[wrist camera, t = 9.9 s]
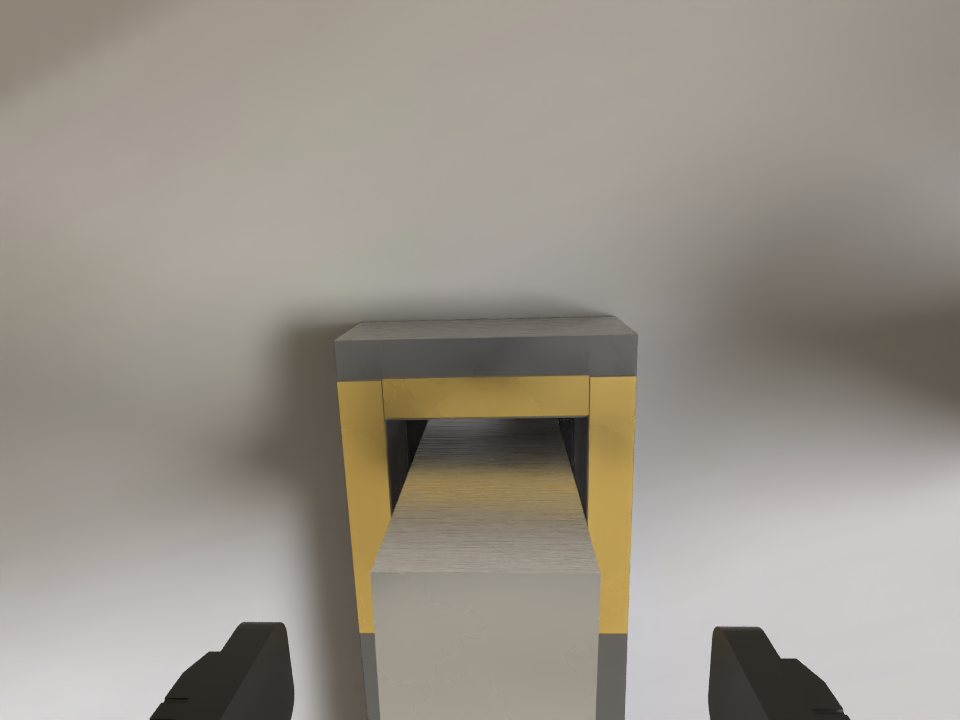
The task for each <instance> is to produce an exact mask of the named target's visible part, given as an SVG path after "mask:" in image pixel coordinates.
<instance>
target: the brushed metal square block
mask: <svg viewBox="0 0 960 720" xmlns="http://www.w3.org/2000/svg"><path fill="white" fill-rule="evenodd" d="M370 573H371V587H372V602H373V617H374V632H375V647H376V662H377V677H378V692H379V707H380V720H595V719H596V692H597V665H598V638H599V612H600V585H601V573H600V570H599V566H598V562H597V559H596V555H595V552H594V548H593V544H592V541H591V537H590V534H589V530H588V527H587V523H586V519H585V516H584V512H583V509H582V505H581V501H580V498H579V494H578V491H577V487H576V483H575V480H574V476H573V473H572V469H571V466H570V462H569V458H568V455H567V451H566V448H565V444H564V440H563V437H562V433H561V430H560V426H559V423H558V419H557V418H512V419H445V420H428V423H427V425H426V428H425V431H424V433H423V436H422V438H421V441H420V444H419V446H418V449H417V452H416V454H415V457H414V459H413V462H412V465H411V467H410V470H409V473H408V475H407V478H406V480H405V483H404V486H403V488H402V491H401V494H400V496H399V499H398V501H397V504H396V507H395V509H394V512H393V515H392V517H391V520H390V522H389V525H388V528H387V530H386V533H385V535H384V538H383V541H382V543H381V546H380V549H379V551H378V554H377V556H376V559H375V562H374V564H373V567H372V570H371V572H370Z"/></svg>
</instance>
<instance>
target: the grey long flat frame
mask: <svg viewBox="0 0 960 720" xmlns="http://www.w3.org/2000/svg"><path fill="white" fill-rule="evenodd" d="M637 343H638V334H637V333H636V332H634V331H633V330H632V329H631V328H629V327H628V326H627V325H626V324H625V323H623V322H622V321H621V320H620V319H618V318H617V317H616V316H606V317H562V318H518V319H475V320H431V321H387V322H360V323H359V324H357V325H356V326H354V327H353V328H352V329H350V330H349V331H347V332H346V333H344V334H343V335H341V336H340V337H338V338H337V339H336V340H334V351H335V362H336V373H337V389H338V400H339V411H340V422H341V434H342V445H343V456H344V467H345V478H346V489H347V500H348V511H349V523H350V534H351V545H352V556H353V567H354V578H355V589H356V600H357V611H358V623H359V633H360V640H361V652H362V663H363V674H364V685H365V696H366V707H367V718H368V720H380V707H379V692H378V677H377V662H376V647H375V632H374V617H373V602H372V587H371V573H370V572H371V570H372V567H373V564H374V562H375V559H376V556H377V554H378V551H379V549H380V546H381V543H382V541H383V538H384V535H385V533H386V530H387V528H388V525H389V522H390V520H391V517H392V515H393V512H394V509H395V507H396V504H397V501H398V499H399V496H400V494H401V491H402V488H403V486H404V483H405V480H406V478H407V475H408V473H409V458H408V441H407V425H406V420H445V419H512V418H574V480H575V483H576V487H577V491H578V494H579V498H580V501H581V505H582V509H583V512H584V516H585V519H586V523H587V527H588V530H589V534H590V537H591V541H592V544H593V548H594V552H595V555H596V559H597V562H598V566H599V570H600V573H601V585H600V612H599V638H598V665H597V692H596V719H595V720H625V692H626V663H627V634H628V608H629V579H630V550H631V520H632V491H633V462H634V433H635V404H636V372H637Z"/></svg>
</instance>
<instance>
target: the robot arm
mask: <svg viewBox="0 0 960 720" xmlns="http://www.w3.org/2000/svg"><path fill="white" fill-rule="evenodd" d="M708 704H709V714H710V720H850V719H849V717H848V716H847V715H845V714H844V712H843V708H842V707H841V705H840V704H839V702H838V701H837V700H836V698H835V697H834V695H833V694H832V692H831V691H830V689H829V688H828V686H827V685H826V683H825V682H824V681H823V680H822V679H820V678H819V677H818V676H817V675H816V674H814V673H813V672H812V671H811V670H809V669H808V668H807V667H806V666H805V665H803V664H802V663H801V662H800V661H799V660H797V659H781V658H780V657H779V655H778V654H777V652H776V650H775V649H774V647H773V645H772V644H771V642H770V641H769V639H768V637H767V636H766V634H765V633H764V631H763V630H762V629H761V628H759V627H715V629H714V631H713V636H712V649H711V664H710V678H709V692H708ZM293 705H294V684H293V676H292V668H291V661H290V653H289V645H288V637H287V631H286V627H285V625H284V624H283V623H281V622H243V623H241V624H240V625H239V626H238V627H237V628H236V630H235V631H234V633H233V634H232V636H231V637H230V638H229V640H228V641H227V643H226V644H225V646H224V647H223V649H222V650H221V652H208V653H207V654H206V655H204V656H203V657H202V658H201V659H199V660H198V661H197V662H196V663H195V664H193V665H192V666H191V667H190V668H188V669H187V670H186V671H185V672H183V674H182V675H181V676H180V678H179V679H178V680H177V682H176V683H175V685H174V686H173V687H172V689H171V690H170V691H169V693H168V694H167V695H166V697H165V701H164V703H161V704H160V705H159V706H158V708H157V709H156V711H155V712H154V713H153V715H152V716H151V717H150V720H291V716H292V712H293Z"/></svg>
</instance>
